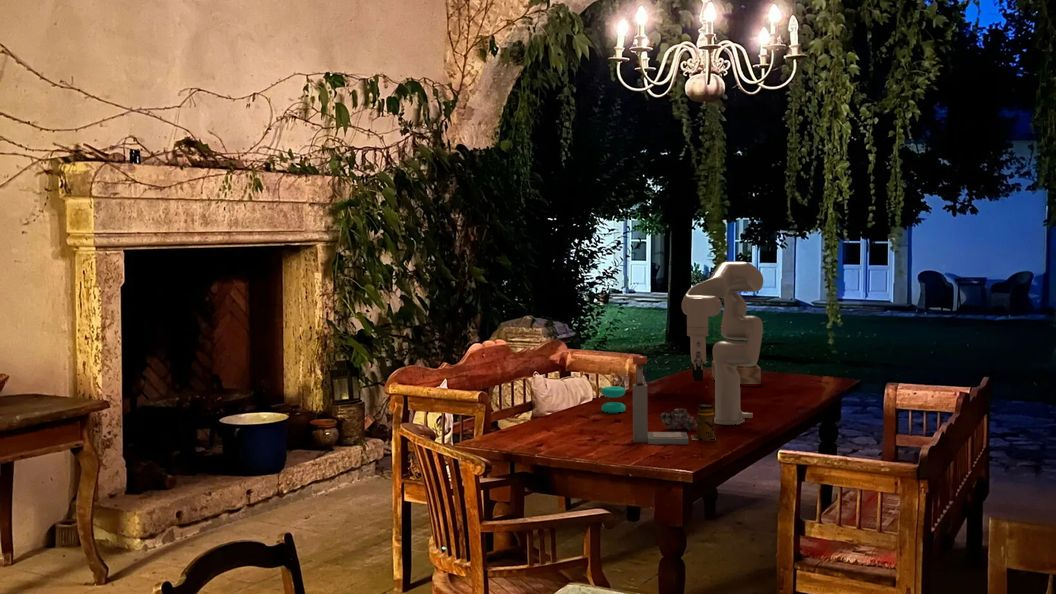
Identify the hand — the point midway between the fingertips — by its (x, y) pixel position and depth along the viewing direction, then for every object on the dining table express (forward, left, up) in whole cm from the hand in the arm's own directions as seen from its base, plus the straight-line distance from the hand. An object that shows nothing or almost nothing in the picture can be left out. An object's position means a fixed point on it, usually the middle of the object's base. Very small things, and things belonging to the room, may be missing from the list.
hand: (697, 379), depth 375 cm
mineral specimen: (+5, -15, -21) cm, 26 cm away
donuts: (+30, -54, -21) cm, 65 cm away
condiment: (-2, +1, -21) cm, 21 cm away
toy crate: (-29, -135, -21) cm, 139 cm away
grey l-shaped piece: (+14, +6, -21) cm, 26 cm away
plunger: (+21, +6, -4) cm, 22 cm away
